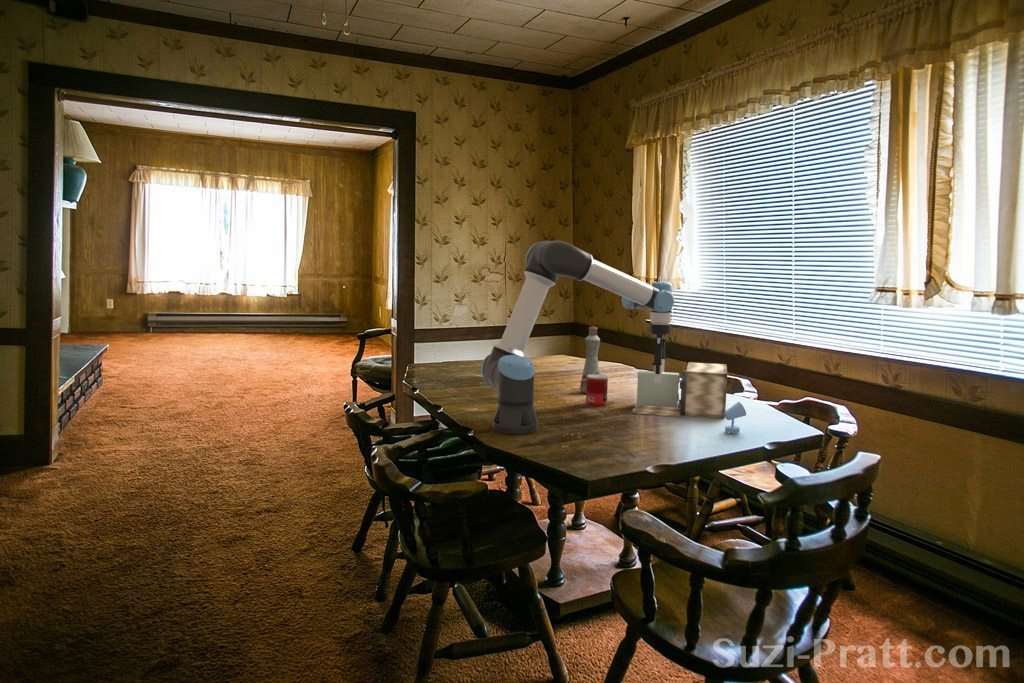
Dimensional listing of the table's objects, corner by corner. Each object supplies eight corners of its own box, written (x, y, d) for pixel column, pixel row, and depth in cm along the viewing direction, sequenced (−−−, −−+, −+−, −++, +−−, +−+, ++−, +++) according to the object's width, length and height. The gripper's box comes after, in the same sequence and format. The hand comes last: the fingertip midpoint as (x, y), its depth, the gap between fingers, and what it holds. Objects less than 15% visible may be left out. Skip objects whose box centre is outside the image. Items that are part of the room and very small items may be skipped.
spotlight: (740, 429, 219) (720, 430, 218) (742, 400, 217) (721, 400, 217) (747, 433, 214) (726, 434, 213) (748, 403, 212) (728, 403, 212)
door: (636, 405, 252) (637, 372, 250) (637, 403, 256) (639, 370, 254) (677, 409, 248) (679, 374, 246) (678, 406, 251) (680, 373, 250)
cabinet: (632, 413, 240) (634, 369, 238) (640, 398, 264) (641, 359, 262) (725, 420, 231) (727, 375, 229) (724, 405, 255) (726, 364, 252)
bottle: (591, 395, 268) (593, 327, 265) (575, 392, 275) (577, 325, 271) (605, 393, 274) (607, 326, 270) (589, 389, 281) (591, 324, 277)
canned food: (608, 406, 250) (609, 377, 249) (587, 406, 250) (587, 377, 249) (605, 402, 258) (606, 374, 256) (585, 401, 258) (585, 373, 256)
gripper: (668, 327, 235) (666, 385, 237) (673, 320, 258) (671, 373, 261) (647, 326, 237) (645, 384, 240) (653, 319, 260) (651, 372, 263)
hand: (658, 379), depth 250 cm, fingers open, 13 cm apart
